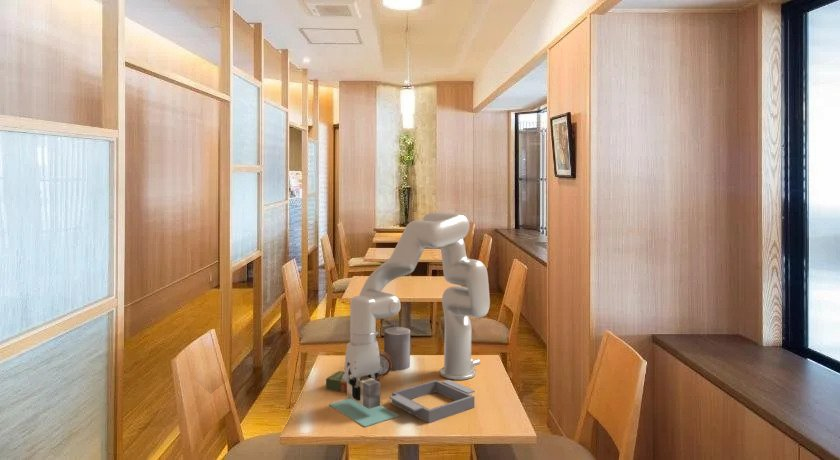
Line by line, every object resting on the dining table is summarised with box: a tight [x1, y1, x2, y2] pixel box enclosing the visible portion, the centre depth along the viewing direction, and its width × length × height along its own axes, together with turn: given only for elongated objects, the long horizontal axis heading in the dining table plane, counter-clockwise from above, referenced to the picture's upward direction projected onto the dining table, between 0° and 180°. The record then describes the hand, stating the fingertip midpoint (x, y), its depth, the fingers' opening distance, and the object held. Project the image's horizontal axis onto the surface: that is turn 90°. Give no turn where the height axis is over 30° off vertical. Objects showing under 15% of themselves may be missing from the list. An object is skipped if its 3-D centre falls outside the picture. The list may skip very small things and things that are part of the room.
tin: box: [378, 350, 393, 377], centre depth 203 cm, size 15×3×8 cm, turn 76°
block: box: [346, 374, 381, 409], centre depth 171 cm, size 4×12×7 cm, turn 39°
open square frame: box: [389, 379, 475, 424], centre depth 176 cm, size 24×18×4 cm
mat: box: [328, 397, 400, 428], centre depth 172 cm, size 12×20×1 cm, turn 39°
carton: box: [325, 370, 381, 394], centre depth 190 cm, size 8×16×4 cm, turn 65°
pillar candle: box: [383, 326, 411, 371], centre depth 211 cm, size 10×10×15 cm
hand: (363, 396), depth 172 cm, fingers closed on block, 4 cm apart
